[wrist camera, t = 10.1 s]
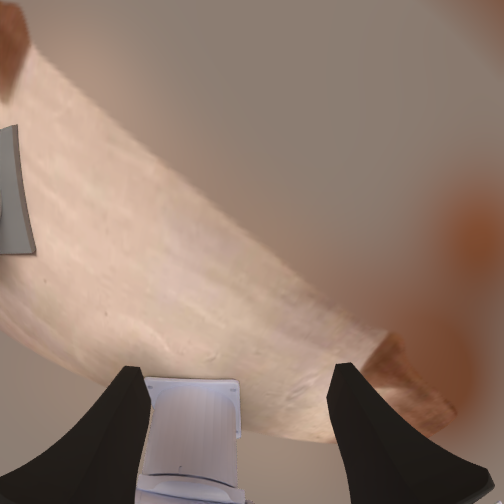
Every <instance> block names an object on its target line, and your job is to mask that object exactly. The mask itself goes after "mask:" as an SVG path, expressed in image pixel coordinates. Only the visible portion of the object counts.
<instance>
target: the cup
mask: <svg viewBox="0 0 504 504" xmlns="http://www.w3.org/2000/svg"><path fill="white" fill-rule="evenodd" d="M1 214H2V197H1V192H0V218H1Z"/></svg>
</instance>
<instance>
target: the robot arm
mask: <svg viewBox="0 0 504 504" xmlns="http://www.w3.org/2000/svg"><path fill="white" fill-rule="evenodd" d="M232 388H235V389H232ZM326 398H327V404H328V410H329V415H330V420H331V424H332V427H333V430H334V433H335V437H336V440H337V443H338V446H339V449H340V453H341V456H342V459H343V462H344V466H345V470H346V474H347V479H348V484H349V491H350V498H351V504H473V503H475V502H476V501H478V500H479V499H481V498H482V497H483V496H485V495H486V494H487V493H489V492H490V491H491V490H493V489H494V487H495V484H494V482H493V480H492V478H491V476H490V474H489V472H488V470H487V469H486V468H483V467H481V466H478V465H476V464H473V463H471V462H468V461H466V460H464V459H462V458H460V457H457V456H456V455H453V454H452V453H450V452H448V451H447V450H445V449H443V448H442V447H440V446H438V445H437V444H435V443H433V442H432V441H430V440H429V439H428V438H426V437H425V436H424V435H422V434H421V433H420V432H418V431H417V430H416V429H415V428H413V427H412V426H411V425H410V424H409V423H407V422H406V421H405V420H404V419H403V418H402V417H401V416H400V415H399V414H398V413H397V412H396V411H395V410H394V409H393V408H392V407H391V406H390V405H389V404H388V403H387V402H386V401H385V400H384V399H383V398H382V397H381V396H380V395H379V394H378V393H377V392H376V390H375V389H374V388H373V387H372V386H371V385H370V384H369V383H368V381H367V380H366V379H365V378H364V377H363V375H362V374H361V373H360V372H359V371H358V370H357V368H356V367H355V366H354V365H353V364H352V363H351V362H350V363H341V364H336V365H335V369H334V373H333V376H332V380H331V383H330V387H329V390H328V394H327V397H326ZM151 404H152V407H153V409H154V413H153V418H152V422H151V427H150V432H149V438H148V443H147V448H146V453H145V459H144V465H143V470H142V474H139V477H138V483H137V488H136V478H137V473H138V467H139V462H140V458H141V454H142V450H143V446H144V442H145V437H146V433H147V429H148V425H149V417H150V409H151ZM240 437H241V415H240V386H239V382H238V381H237V380H233V379H230V380H214V379H177V378H159V377H146V378H145V379H144V378H143V375H142V372H141V369H140V367H133V366H124V367H123V368H122V370H121V371H120V372H119V373H118V375H117V376H116V377H115V379H114V380H113V381H112V382H111V384H110V385H109V386H108V388H107V389H106V390H105V391H104V393H103V394H102V395H101V396H100V397H99V399H98V400H97V401H96V402H95V404H94V405H93V406H92V407H91V408H90V409H89V411H88V412H87V413H86V414H85V415H84V416H83V417H82V418H81V419H80V420H79V421H78V423H77V424H76V425H75V426H74V427H73V428H72V429H71V430H70V431H68V432H67V433H66V434H65V435H64V436H63V437H62V438H61V439H60V440H58V441H57V442H56V443H55V444H54V445H52V446H51V447H50V448H49V449H48V450H46V451H45V452H43V453H42V454H41V455H39V456H37V457H36V458H34V459H33V460H31V461H30V462H28V463H27V464H25V465H23V466H21V467H20V468H18V469H16V470H14V471H12V472H10V473H8V474H6V475H3V476H1V477H0V504H255V503H253V501H250V500H245V490H243V489H238V486H237V449H236V439H238V438H240ZM495 504H502V503H501V501H497V502H496V503H495Z"/></svg>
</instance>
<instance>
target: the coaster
mask: <svg viewBox="0 0 504 504" xmlns="http://www.w3.org/2000/svg"><path fill="white" fill-rule="evenodd" d="M0 192H1V197H2V214H1V218H0V254H18V253H33V252H34V251H35V250H36V247H35V243H34V239H33V235H32V230H31V226H30V221H29V216H28V211H27V206H26V200H25V194H24V188H23V181H22V174H21V165H20V156H19V144H18V129H17V125H12V126H9V127H6V128H3V129H0Z"/></svg>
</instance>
